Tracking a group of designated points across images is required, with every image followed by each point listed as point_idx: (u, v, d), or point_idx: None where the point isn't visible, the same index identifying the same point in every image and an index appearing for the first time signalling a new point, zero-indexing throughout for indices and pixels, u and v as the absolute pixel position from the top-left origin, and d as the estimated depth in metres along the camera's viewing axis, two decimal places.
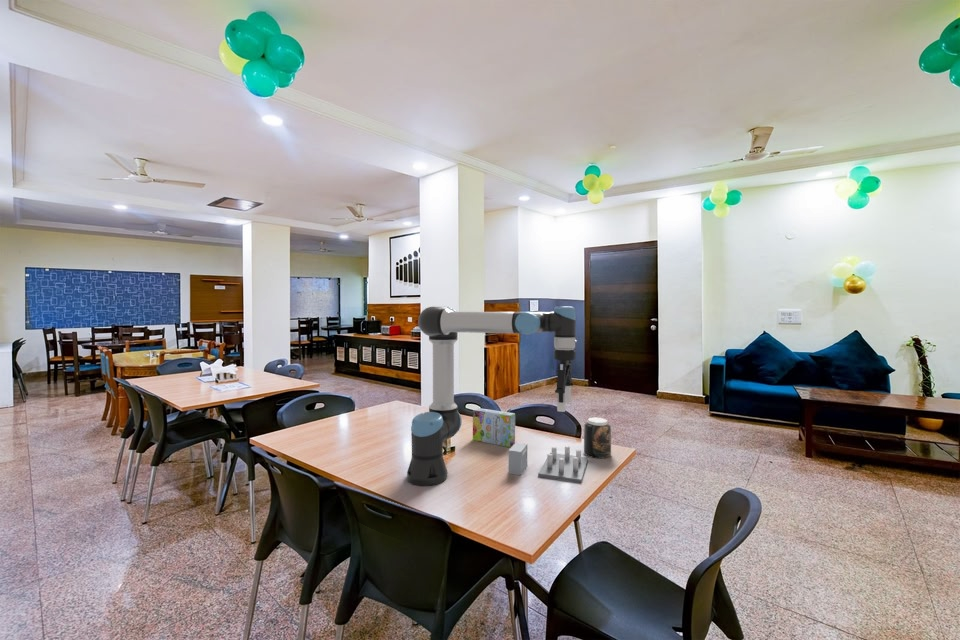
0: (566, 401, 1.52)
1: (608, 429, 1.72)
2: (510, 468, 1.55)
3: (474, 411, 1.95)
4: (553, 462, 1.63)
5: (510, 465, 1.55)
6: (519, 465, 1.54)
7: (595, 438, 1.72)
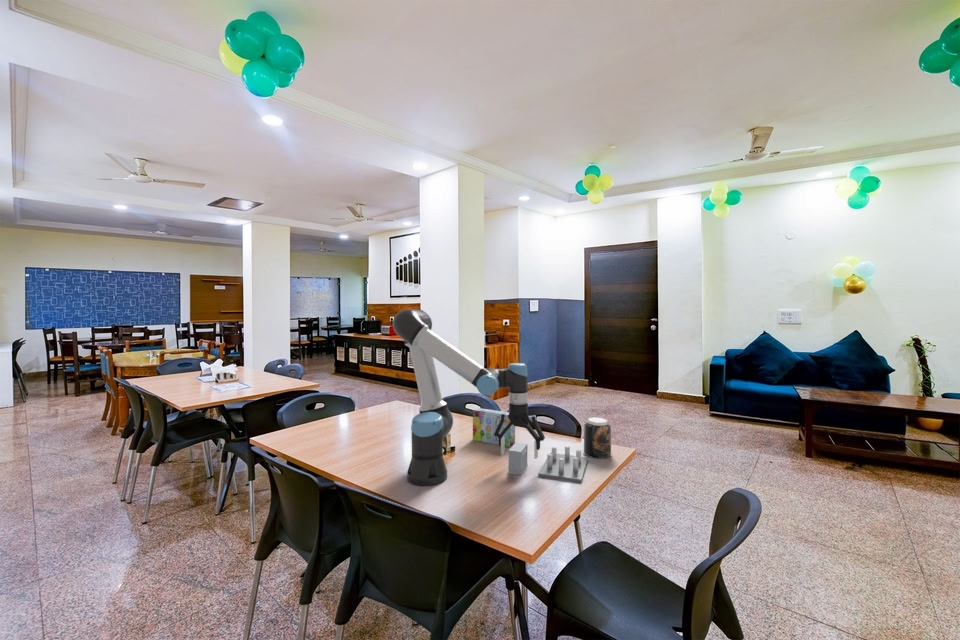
0: None
1: (608, 429, 1.72)
2: (510, 468, 1.55)
3: (474, 411, 1.95)
4: (553, 462, 1.63)
5: (510, 465, 1.55)
6: (519, 465, 1.54)
7: (595, 438, 1.72)
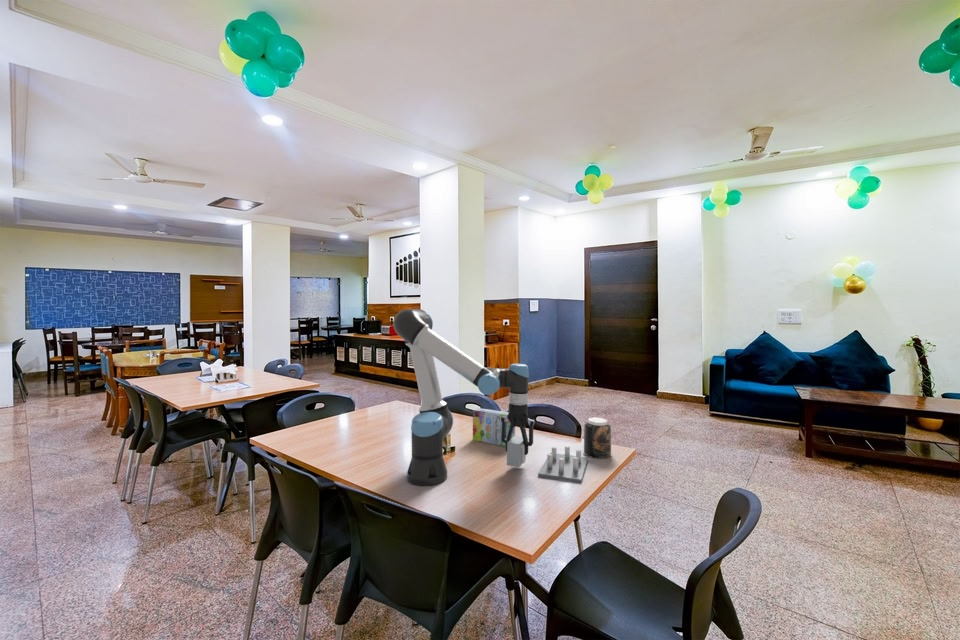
0: None
1: (608, 429, 1.72)
2: (508, 460, 1.55)
3: (474, 411, 1.95)
4: (553, 462, 1.63)
5: (508, 457, 1.55)
6: (517, 457, 1.54)
7: (595, 438, 1.72)
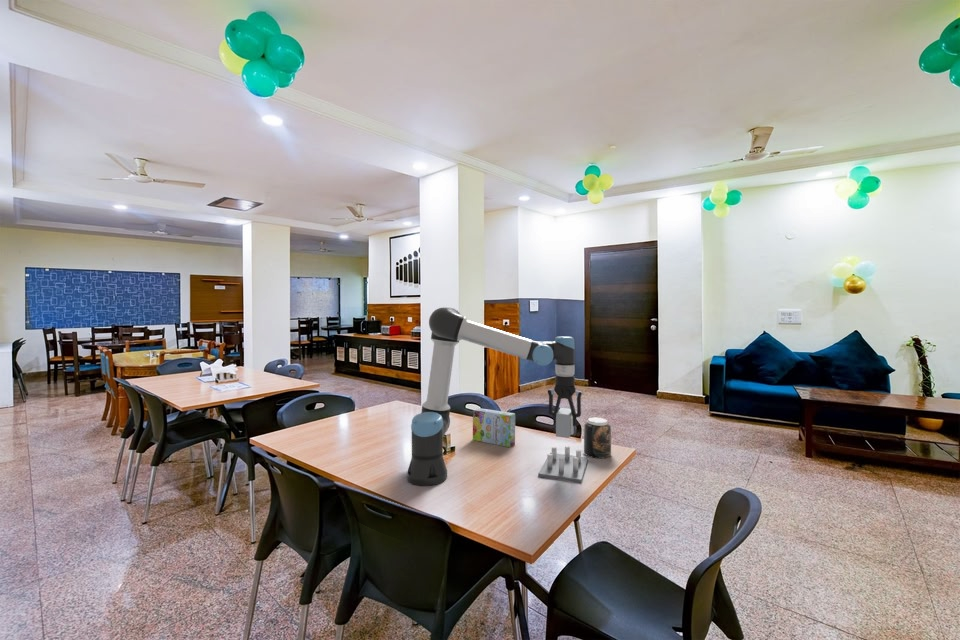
0: None
1: (608, 429, 1.72)
2: (558, 431, 1.56)
3: (474, 411, 1.95)
4: (553, 462, 1.63)
5: (558, 428, 1.56)
6: (567, 428, 1.55)
7: (595, 438, 1.72)
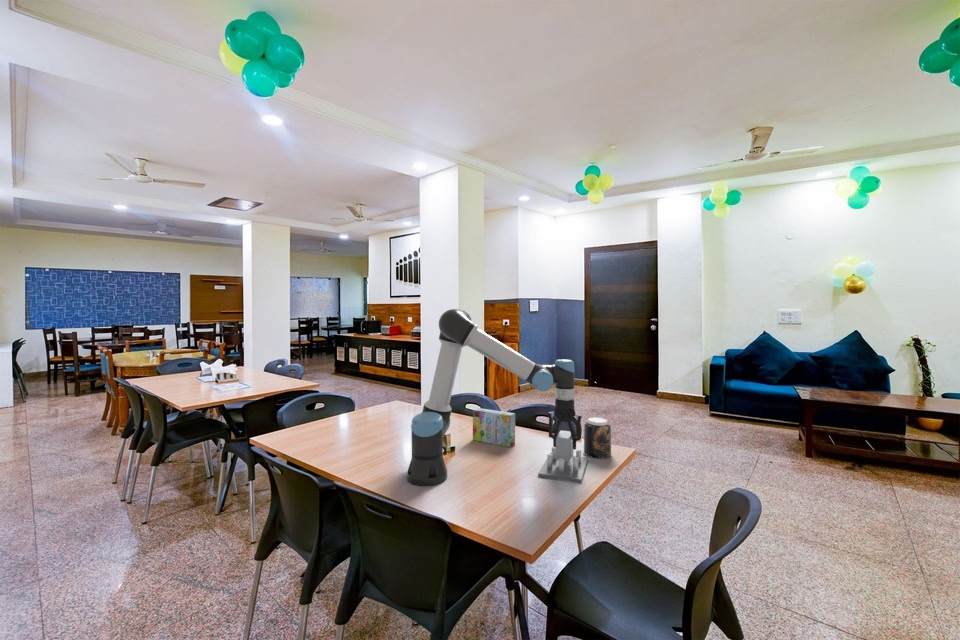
0: None
1: (608, 429, 1.72)
2: (558, 455, 1.56)
3: (474, 411, 1.95)
4: (553, 462, 1.63)
5: (558, 452, 1.56)
6: (567, 452, 1.55)
7: (595, 438, 1.72)
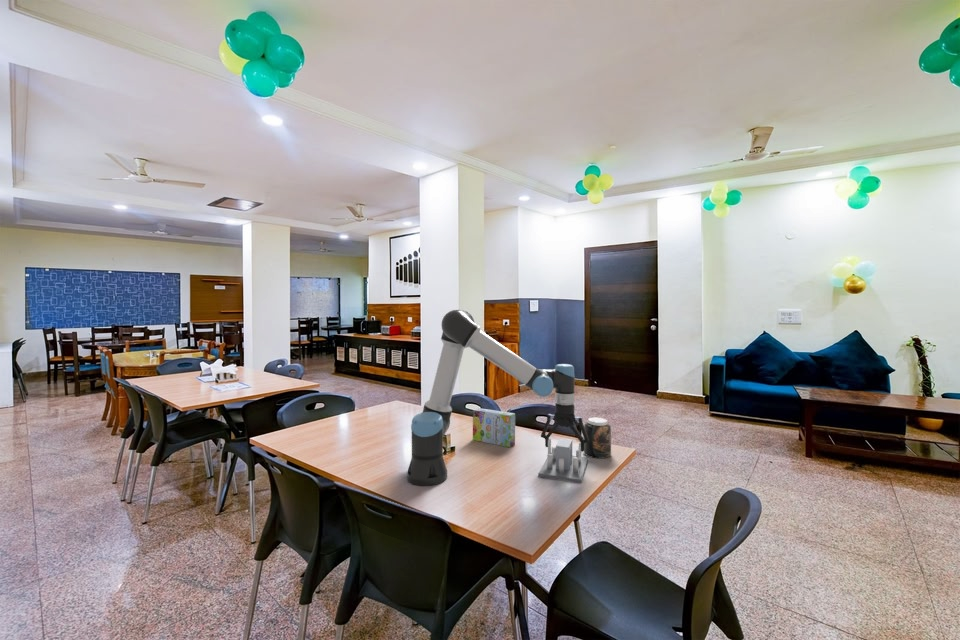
0: None
1: (608, 429, 1.72)
2: (558, 463, 1.56)
3: (474, 411, 1.95)
4: (553, 462, 1.63)
5: (558, 460, 1.56)
6: (567, 460, 1.55)
7: (595, 438, 1.72)
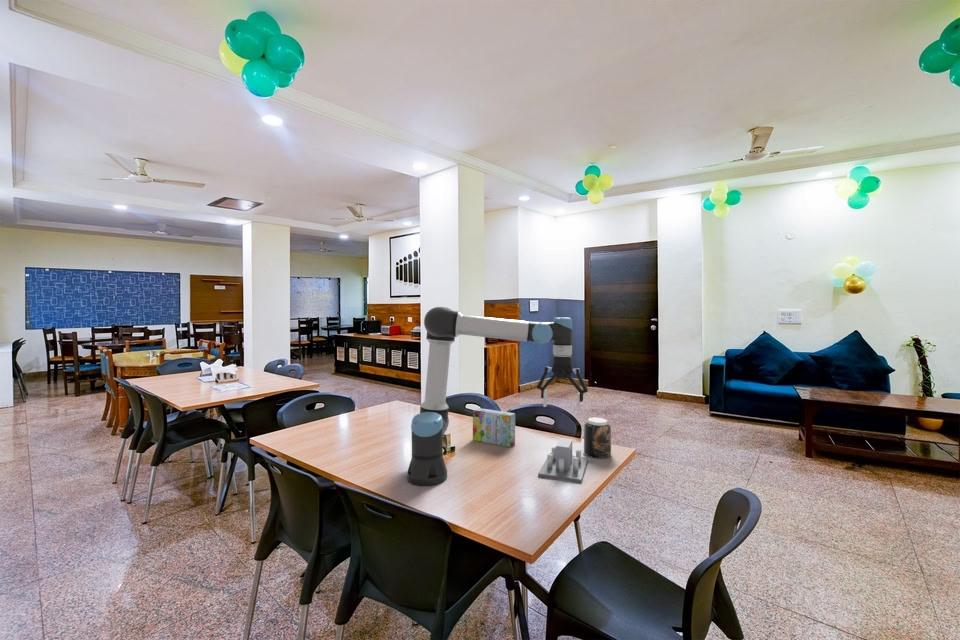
0: None
1: (608, 429, 1.72)
2: (558, 463, 1.56)
3: (474, 411, 1.95)
4: (553, 462, 1.63)
5: (558, 460, 1.56)
6: (567, 460, 1.55)
7: (595, 438, 1.72)
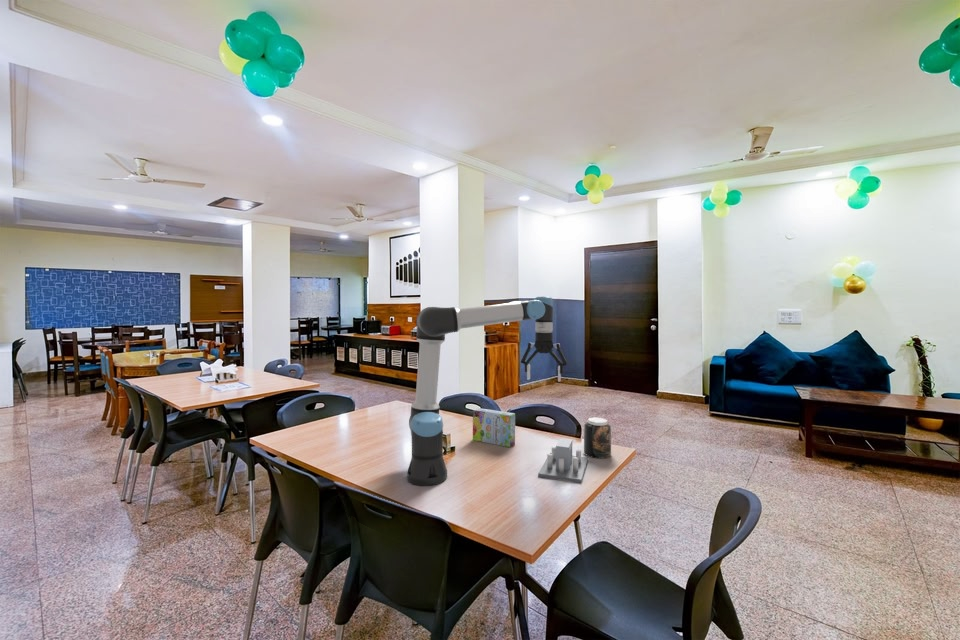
0: None
1: (608, 429, 1.72)
2: (558, 463, 1.56)
3: (474, 411, 1.95)
4: (553, 462, 1.63)
5: (558, 460, 1.56)
6: (567, 460, 1.55)
7: (595, 438, 1.72)
